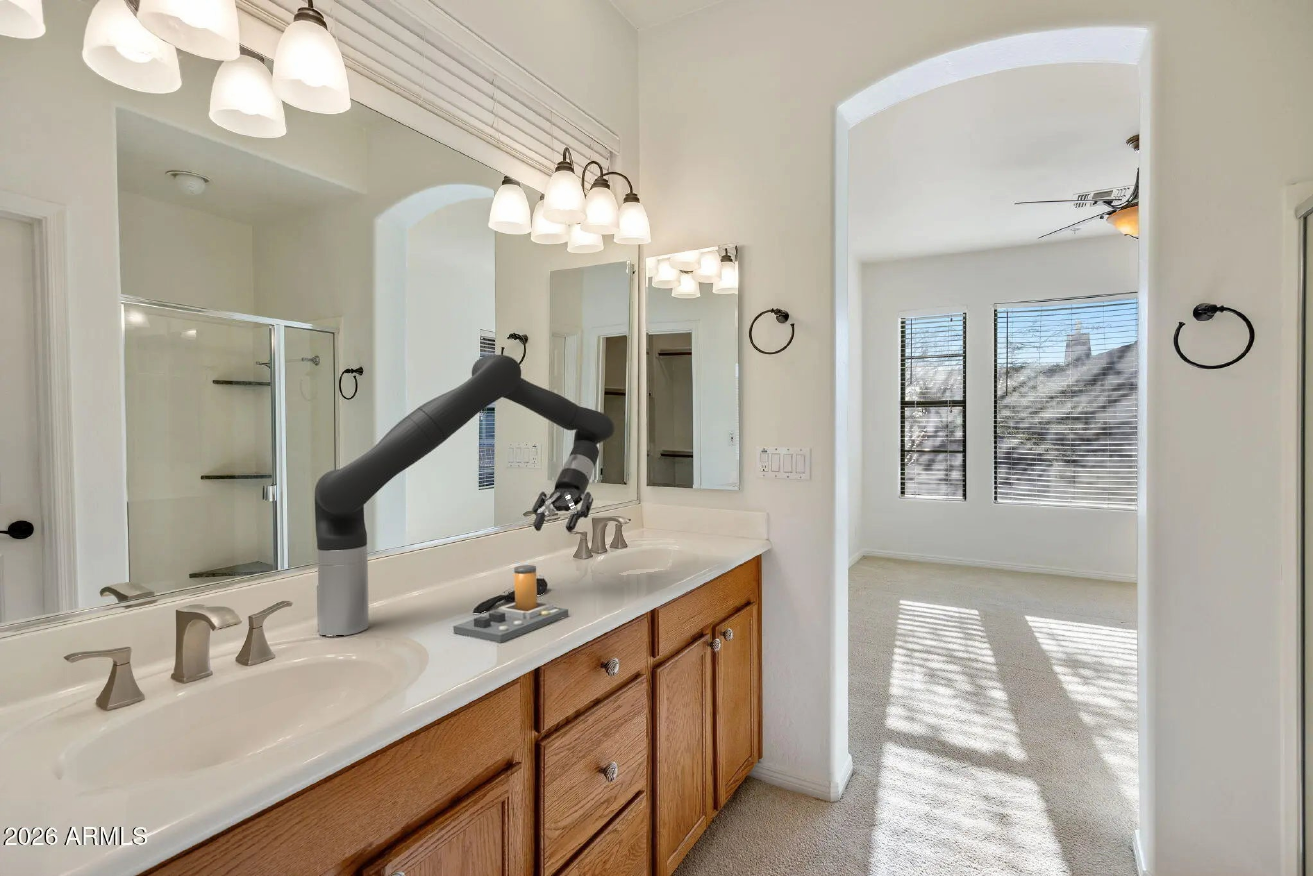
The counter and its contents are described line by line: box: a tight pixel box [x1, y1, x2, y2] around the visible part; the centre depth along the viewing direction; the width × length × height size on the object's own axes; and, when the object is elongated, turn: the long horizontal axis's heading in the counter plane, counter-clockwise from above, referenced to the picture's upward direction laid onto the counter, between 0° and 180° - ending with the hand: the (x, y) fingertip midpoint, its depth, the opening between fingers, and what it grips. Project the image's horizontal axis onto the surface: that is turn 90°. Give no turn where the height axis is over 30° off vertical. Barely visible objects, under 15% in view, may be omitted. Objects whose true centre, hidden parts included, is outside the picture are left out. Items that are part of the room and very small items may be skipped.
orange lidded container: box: [513, 564, 538, 611], centre depth 133 cm, size 5×5×10 cm
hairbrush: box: [472, 575, 548, 614], centre depth 149 cm, size 8×4×25 cm
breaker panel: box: [453, 600, 569, 644], centre depth 129 cm, size 13×20×3 cm, turn 149°
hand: (552, 529), depth 144 cm, fingers open, 8 cm apart
